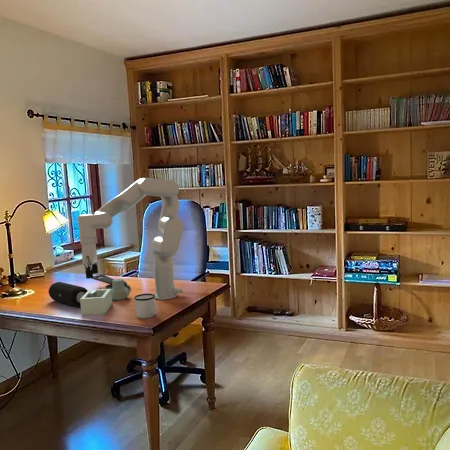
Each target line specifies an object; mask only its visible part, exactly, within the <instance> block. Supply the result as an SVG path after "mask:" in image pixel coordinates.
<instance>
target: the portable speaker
mask: <svg viewBox="0 0 450 450" xmlns="http://www.w3.org/2000/svg"><path fill="white" fill-rule="evenodd" d="M87 291H88V289H87V288H86V287H84V286H81V285H75V284H73V283H72V284H70V283H68V282H67V283H66V282H63V281H56V282H54V283H52V284H50V286H49V287H48V295H49V297H50V298H51V300H53V301H55V302H59V303H62V304H66V305H70V306H73V307H76V308H81V304H80V299H81V298H82V297H83V296H84V295H85V293H86V292H87Z"/></svg>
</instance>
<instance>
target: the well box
mask: <svg viewBox="0 0 450 450" xmlns="http://www.w3.org/2000/svg"><path fill="white" fill-rule="evenodd" d="M87 290H88V289H87ZM94 290H96V294H97V297H92V298H90V294H89V293H90V292H91V291H94ZM80 304H81V307H80V313H81V317H86V316H87V317H88V316H100V315H101V316H102V315H106V314H107V313H108V311H109V310H110V309H111V307H112V306H113V299H112V292H111V289H106V288H101V289H89V290H88V291H87V292H86V293H85V295H84V296H83V297H82V298H81V299H80Z"/></svg>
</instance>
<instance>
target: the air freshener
mask: <svg viewBox="0 0 450 450" xmlns="http://www.w3.org/2000/svg"><path fill="white" fill-rule="evenodd" d="M113 279H114V280H113V281H112V287H113V288H112V289H111V292H112V301H113V300H114V301H122V300H124V299H126V298H128V297H129V296H130V293H131V290H129V289H128V288H126V287H124V281H125V280H124V279H123V278H113Z"/></svg>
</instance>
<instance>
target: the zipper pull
mask: <svg viewBox="0 0 450 450" xmlns="http://www.w3.org/2000/svg"><path fill="white" fill-rule="evenodd" d="M114 279H115V278H112V277H109V276H107V275H105V274H103V273H102V274H97V275H93V278H91V280H95V281H98V282H101V283H105V284H106V286H105V289H112V288H113V287H112V281H113V280H114ZM124 287H126V288H128V289H129V291H131V285H129V284H128V283H127V281H126V280H124Z"/></svg>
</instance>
